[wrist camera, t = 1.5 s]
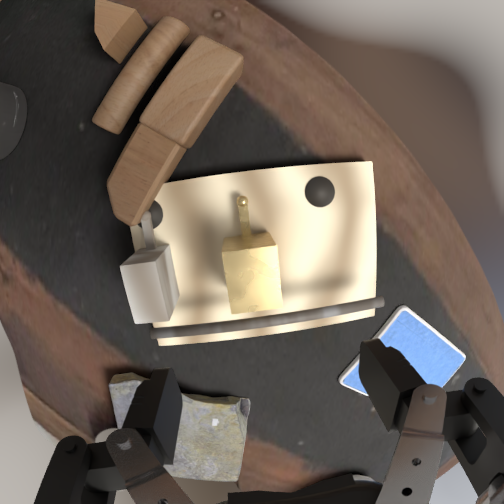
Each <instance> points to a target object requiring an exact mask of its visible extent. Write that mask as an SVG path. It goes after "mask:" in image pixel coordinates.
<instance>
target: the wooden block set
mask: <svg viewBox="0 0 504 504" xmlns="http://www.w3.org/2000/svg"><path fill="white" fill-rule="evenodd" d="M146 29H147V26H146V25H145V23H144V21H143V20H142V18H141V17H140V15H139V14H138V12H137V10H136V9H133V8H130V7H127V6H123V5H120V4H117V3H113V2H110V1H106V0H95V33H96V35H97V37H98V39H99V41H100V43H101V45H102V47H103V49H104V51H106V52H107V53H108V54H109V55H110V56H111V57H113V58H114V59H115V60H116V61H117V62H118V63H119V64H121V62H122V61H123V60H124V58H125V57H126V55H127V54H128V53H129V51H130V50H131V48H132V47H133V46H134V44H135V43H136V42H137V41H138V39H139V38H140V37H141V35H142V34H143V33H144V32H145V30H146ZM189 33H190V30H189V28H188V27H187V26H186V25H185V24H184V23H183V22H181V21H180V20H178V19H176V18H173V17H170V16H164V17H162V18H161V20H160V21H159V22H158V23H157V24H156V26H155V27H154V28H153V29H152V30H151V32H150V33H149V34H148V35H147V37H146V38H145V39H144V41H143V42H142V43H141V44H140V46H139V47H138V48H137V50H136V51H135V52H134V54H133V55H132V57H131V58H130V59H129V61H128V62H127V64H126V65H125V66H124V68H123V69H122V71H121V72H120V74H119V75H118V77H117V78H116V80H115V81H114V83H113V84H112V86H111V88H110V89H109V91H108V92H107V94H106V96H105V97H104V99H103V101H102V102H101V104H100V106H99V107H98V109H97V111H96V113H95V114H94V116H93V118H92V121H93V123H94V124H96V125H98V126H99V127H101V128H103V129H105V130H107V131H109V132H112V133H114V134H120V133H121V132H122V130H123V128H124V127H125V125H126V123H127V121H128V120H129V118H130V116H131V115H132V113H133V112H134V110H135V108H136V107H137V105H138V104H139V102H140V100H141V99H142V97H143V96H144V94H145V93H146V91H147V90H148V88H149V87H150V85H151V84H152V82H153V81H154V79H155V78H156V77H157V75H158V74H159V72H160V71H161V70H162V68H163V67H164V65H165V64H166V63H167V61H168V60H169V59H170V57H171V56H172V55H173V53H174V52H175V51H176V50H177V48H178V47H179V46H180V44H181V43H182V42H183V41H184V39H185V38H186V37H187V36H188V35H189ZM243 60H244V57H243V56H242V55H241V54H239V53H238V52H236V51H234V50H232V49H230V48H228V47H226V46H224V45H222V44H220V43H218V42H216V41H214V40H212V39H210V38H207V37H205V36H203V35H199V36H198V37H197V38H196V39H195V40H194V41H193V43H192V44H191V45H190V46H189V48H188V49H187V50H186V52H185V53H184V54H183V55H182V57H181V58H180V59H179V61H178V62H177V63H176V65H175V66H174V67H173V69H172V70H171V72H170V73H169V74H168V76H167V77H166V79H165V80H164V81H163V83H162V84H161V86H160V87H159V89H158V90H157V92H156V93H155V95H154V96H153V98H152V99H151V101H150V102H149V104H148V105H147V107H146V108H145V110H144V112H143V113H142V115H141V116H140V120H139V121H140V123H139V124H138V125H137V127H136V129H135V130H134V132H133V134H132V135H131V137H130V139H129V141H128V142H127V144H126V146H125V148H124V149H123V151H122V153H121V155H120V157H119V159H118V161H117V162H116V164H115V166H114V168H113V170H112V172H111V174H110V176H109V178H108V180H107V189H108V193H109V197H110V201H111V205H112V209H113V213H114V214H115V216H116V217H117V218H118V219H119V220H121V221H123V222H124V223H126V224H127V225H129V226H130V227H132V226H135V225H137V224H139V223H141V219H142V216H143V214H144V213H145V211H146V210H149V209H150V207H151V205H152V203H153V201H154V200H155V198H156V196H157V194H158V193H159V191H160V189H161V187H162V185H163V184H164V183H167V182H168V180H169V178H170V176H171V175H172V173H173V171H174V170H175V168H176V166H177V165H178V163H179V161H180V160H181V158H182V156H183V155H184V153H185V152H186V150H187V149H186V148H191V147H192V146H193V144H194V143H195V141H196V140H197V138H198V136H199V135H200V133H201V132H202V130H203V129H204V127H205V126H206V124H207V123H208V121H209V120H210V118H211V117H212V115H213V114H214V112H215V111H216V109H217V108H218V107H219V105H220V104H221V102H222V101H223V99H224V98H225V97H226V95H227V94H228V92H229V91H230V90H231V88H232V87H233V85H234V84H235V83H236V81H237V80H238V79H239V77H240V76H241V75H242V70H243Z"/></svg>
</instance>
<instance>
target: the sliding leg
mask: <svg viewBox="0 0 504 504" xmlns="http://www.w3.org/2000/svg"><path fill="white" fill-rule="evenodd" d="M236 202H237V205H238V209H239V217H240V224H241V232H242V235H240V236H232V237H225V238H224V240H223V246H222V259H223V265H224V272H225V278H226V284H227V291H228V297H229V303H230V309H231V315H232V314H240V313H248V312H256V311H263V310H270V309H277V308H283V305H282V294H281V283H280V272H279V262H278V252H277V245H276V243H275V241H274V240H273V238H272V236H271V234H270V233H269V232H263V233H255V234H251V228H250V219H249V211H248V198H247V197H246V196H239V197H238V198H237V201H236Z"/></svg>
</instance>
